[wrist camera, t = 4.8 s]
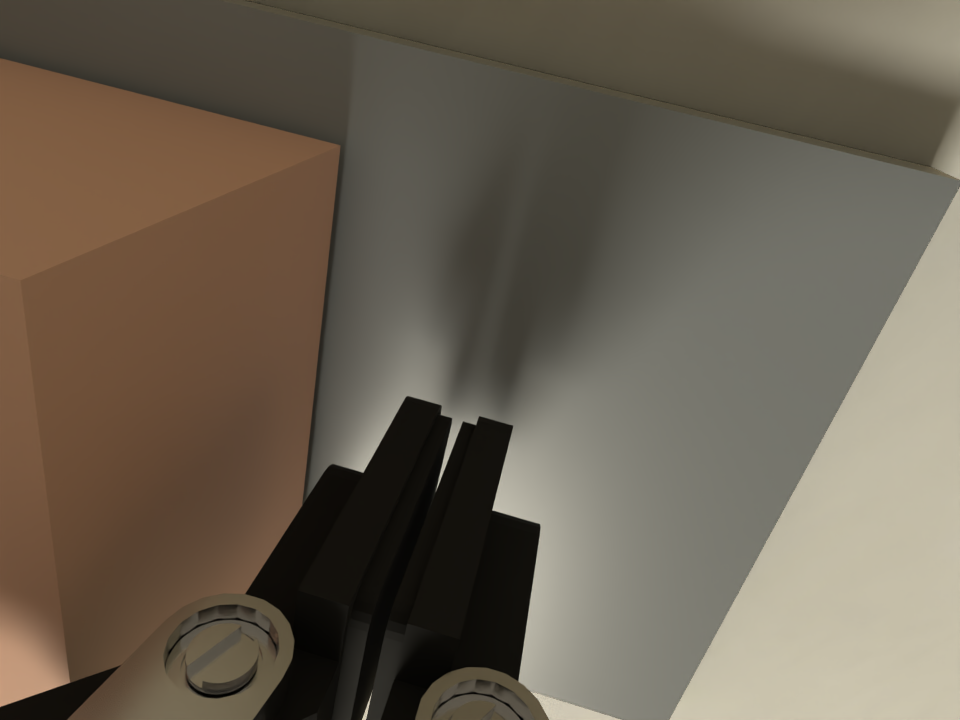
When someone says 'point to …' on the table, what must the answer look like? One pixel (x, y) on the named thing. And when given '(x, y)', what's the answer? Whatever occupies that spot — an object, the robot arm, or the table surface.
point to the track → (557, 299)
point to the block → (146, 361)
